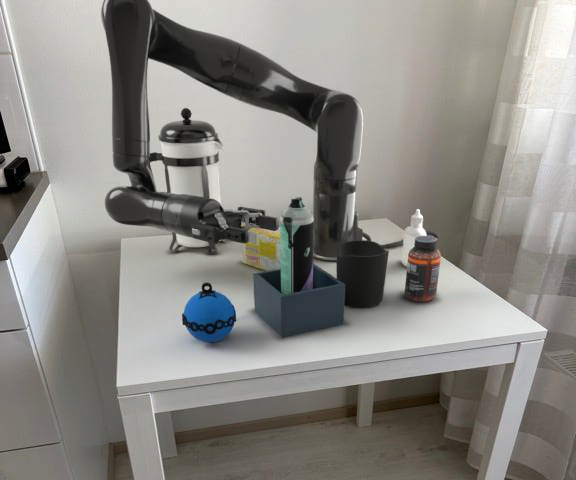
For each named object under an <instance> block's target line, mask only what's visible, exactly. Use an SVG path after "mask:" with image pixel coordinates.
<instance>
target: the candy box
mask: <svg viewBox="0 0 576 480" xmlns="http://www.w3.org/2000/svg"><path fill="white" fill-rule="evenodd" d="M243 226H245V224H244V225H243ZM248 235H249V242H248V243H245V244H243V243H241V259H242V261H241V262H242V264H245V265H249V266H251V267H254V268H257V269H260V270H262V271H269V270H275V269H281V252H280V233H276V232H274V231H270V230H266V229H261V228H250V229H249V231H248Z"/></svg>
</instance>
